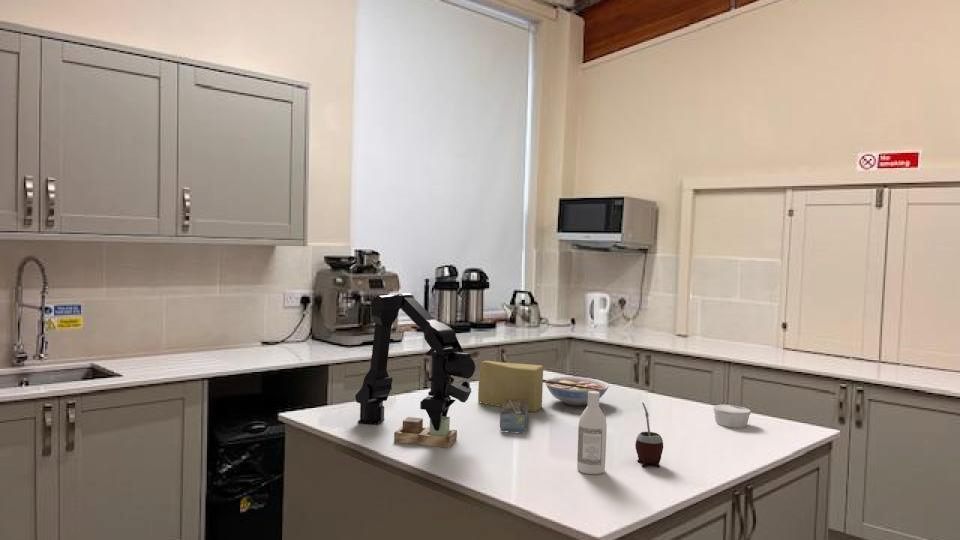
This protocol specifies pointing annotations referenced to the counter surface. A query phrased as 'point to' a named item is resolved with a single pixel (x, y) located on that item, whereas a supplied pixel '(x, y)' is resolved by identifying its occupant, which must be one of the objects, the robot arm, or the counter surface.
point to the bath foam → (592, 437)
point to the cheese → (510, 383)
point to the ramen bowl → (574, 389)
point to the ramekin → (731, 416)
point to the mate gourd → (649, 446)
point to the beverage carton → (514, 415)
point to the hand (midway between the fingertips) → (439, 428)
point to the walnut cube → (413, 425)
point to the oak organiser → (425, 438)
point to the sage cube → (441, 427)
